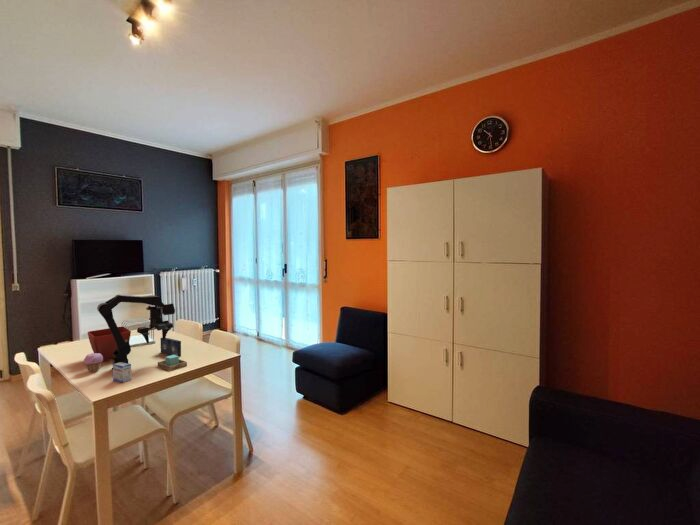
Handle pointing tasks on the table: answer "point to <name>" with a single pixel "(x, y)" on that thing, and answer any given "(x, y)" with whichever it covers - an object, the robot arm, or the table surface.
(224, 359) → the table surface
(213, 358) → the table surface
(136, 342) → the file sorter
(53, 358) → the table surface
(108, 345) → the plant pot
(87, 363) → the cupcake
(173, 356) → the cube
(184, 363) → the tray
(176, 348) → the vhs cassette tape
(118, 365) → the medicine box
